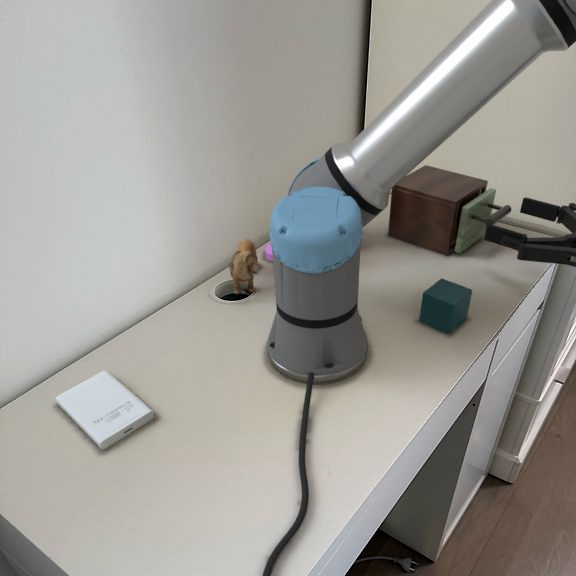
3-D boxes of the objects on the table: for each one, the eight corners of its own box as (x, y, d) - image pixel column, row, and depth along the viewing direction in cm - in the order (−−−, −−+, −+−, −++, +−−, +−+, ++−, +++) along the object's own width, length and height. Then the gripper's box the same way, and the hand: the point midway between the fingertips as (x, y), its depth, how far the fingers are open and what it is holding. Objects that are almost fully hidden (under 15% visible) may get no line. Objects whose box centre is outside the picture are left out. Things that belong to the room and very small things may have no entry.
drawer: (507, 239, 105) (518, 195, 99) (481, 260, 99) (491, 215, 93) (431, 216, 114) (437, 174, 108) (403, 234, 108) (408, 191, 102)
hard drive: (108, 377, 81) (155, 417, 74) (58, 405, 77) (102, 451, 70) (105, 369, 80) (152, 409, 73) (54, 397, 76) (99, 442, 69)
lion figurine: (264, 302, 94) (260, 256, 88) (233, 305, 94) (227, 259, 88) (258, 260, 105) (254, 216, 99) (231, 263, 105) (225, 219, 99)
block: (466, 318, 88) (472, 289, 84) (448, 334, 85) (454, 305, 81) (436, 306, 91) (441, 277, 87) (418, 321, 88) (422, 292, 84)
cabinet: (477, 232, 109) (488, 180, 102) (447, 255, 103) (456, 201, 96) (419, 214, 116) (425, 164, 109) (387, 235, 110) (392, 183, 103)
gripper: (592, 308, 82) (465, 264, 93) (647, 245, 95) (530, 213, 106) (609, 264, 77) (473, 223, 88) (665, 204, 90) (541, 175, 101)
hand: (504, 217), depth 97 cm, fingers open, 13 cm apart
